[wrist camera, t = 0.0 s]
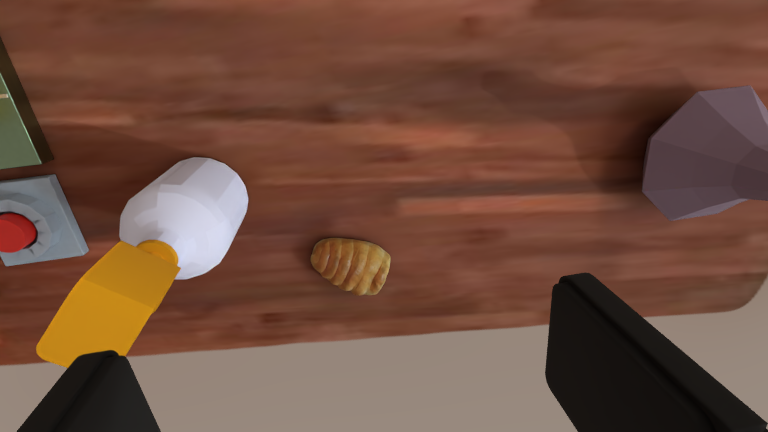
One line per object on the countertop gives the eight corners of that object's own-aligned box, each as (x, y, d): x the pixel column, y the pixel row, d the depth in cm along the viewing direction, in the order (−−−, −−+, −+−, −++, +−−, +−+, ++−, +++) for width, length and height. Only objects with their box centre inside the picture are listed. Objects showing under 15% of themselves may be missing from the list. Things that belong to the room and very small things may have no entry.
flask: (765, 102, 49) (1028, 134, 31) (691, 221, 54) (877, 308, 36) (660, 60, 45) (889, 68, 27) (592, 193, 50) (744, 275, 32)
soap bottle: (148, 208, 44) (-41, 377, 21) (185, 139, 41) (20, 246, 19) (224, 246, 47) (130, 430, 24) (263, 184, 44) (200, 322, 22)
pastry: (303, 269, 49) (301, 286, 46) (322, 222, 47) (322, 236, 44) (372, 291, 52) (376, 308, 48) (393, 247, 50) (399, 261, 46)
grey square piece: (-28, 184, 40) (-54, 194, 38) (55, 173, 41) (36, 182, 38) (13, 261, 44) (-8, 275, 41) (89, 250, 45) (74, 263, 42)
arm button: (-12, 215, 39) (-26, 222, 38) (27, 210, 39) (14, 217, 38) (5, 247, 41) (-8, 255, 39) (43, 242, 41) (31, 250, 39)
